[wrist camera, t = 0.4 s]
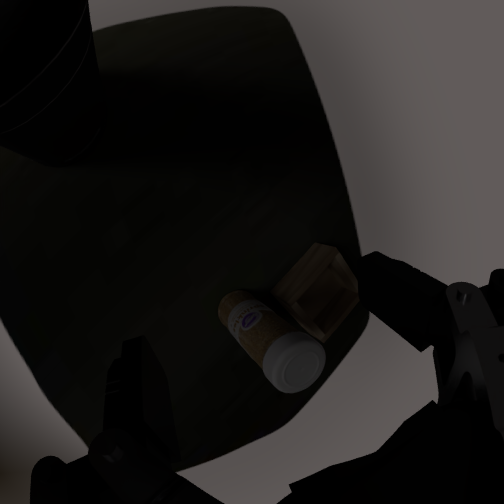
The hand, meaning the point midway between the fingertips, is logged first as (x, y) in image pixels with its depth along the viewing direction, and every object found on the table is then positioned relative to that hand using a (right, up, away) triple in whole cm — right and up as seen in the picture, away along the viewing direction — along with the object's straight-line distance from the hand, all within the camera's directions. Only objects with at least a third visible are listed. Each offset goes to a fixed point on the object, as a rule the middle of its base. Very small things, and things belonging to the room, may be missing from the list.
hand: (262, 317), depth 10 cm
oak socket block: (+7, -2, +25) cm, 26 cm away
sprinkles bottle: (-2, -4, +22) cm, 22 cm away
